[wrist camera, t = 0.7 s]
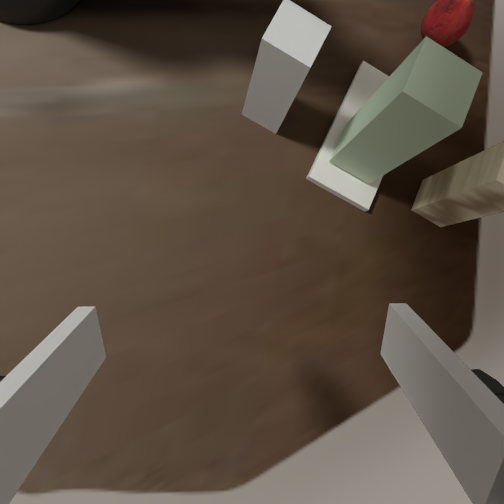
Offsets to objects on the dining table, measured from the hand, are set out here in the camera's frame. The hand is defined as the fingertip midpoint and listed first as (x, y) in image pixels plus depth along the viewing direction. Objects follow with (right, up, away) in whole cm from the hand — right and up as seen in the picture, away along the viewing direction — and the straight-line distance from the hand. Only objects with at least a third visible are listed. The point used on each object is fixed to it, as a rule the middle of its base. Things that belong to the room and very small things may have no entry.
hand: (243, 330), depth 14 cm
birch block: (+25, +10, +28) cm, 39 cm away
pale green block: (+14, +16, +26) cm, 34 cm away
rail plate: (+15, +19, +27) cm, 37 cm away
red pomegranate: (+26, +35, +32) cm, 54 cm away
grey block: (+2, +22, +25) cm, 34 cm away
